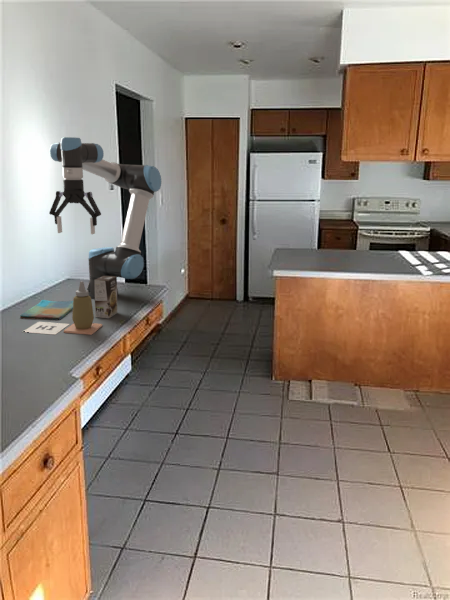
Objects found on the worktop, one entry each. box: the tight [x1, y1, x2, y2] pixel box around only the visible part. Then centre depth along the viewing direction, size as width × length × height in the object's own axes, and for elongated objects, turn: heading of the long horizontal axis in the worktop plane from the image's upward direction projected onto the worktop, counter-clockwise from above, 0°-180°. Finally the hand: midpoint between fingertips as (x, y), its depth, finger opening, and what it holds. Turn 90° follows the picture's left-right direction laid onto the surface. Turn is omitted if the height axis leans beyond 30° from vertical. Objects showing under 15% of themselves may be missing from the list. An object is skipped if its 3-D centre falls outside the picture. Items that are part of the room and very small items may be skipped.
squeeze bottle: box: [71, 280, 95, 329], centre depth 192 cm, size 8×8×18 cm
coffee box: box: [94, 276, 118, 319], centre depth 211 cm, size 9×6×16 cm
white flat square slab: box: [23, 321, 70, 336], centre depth 194 cm, size 13×13×1 cm
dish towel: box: [19, 299, 73, 321], centre depth 216 cm, size 17×23×2 cm
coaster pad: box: [63, 322, 103, 335], centre depth 194 cm, size 11×11×1 cm
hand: (76, 233), depth 202 cm, fingers open, 13 cm apart
